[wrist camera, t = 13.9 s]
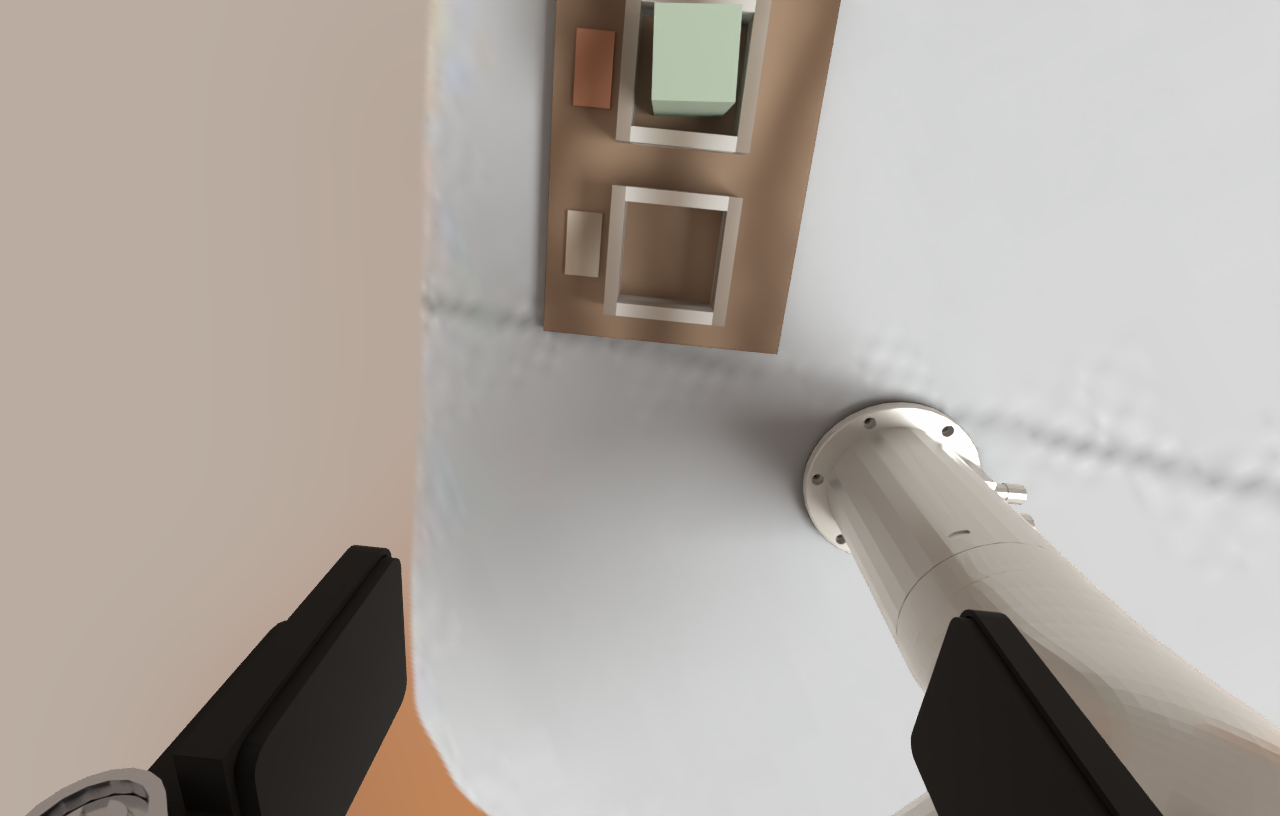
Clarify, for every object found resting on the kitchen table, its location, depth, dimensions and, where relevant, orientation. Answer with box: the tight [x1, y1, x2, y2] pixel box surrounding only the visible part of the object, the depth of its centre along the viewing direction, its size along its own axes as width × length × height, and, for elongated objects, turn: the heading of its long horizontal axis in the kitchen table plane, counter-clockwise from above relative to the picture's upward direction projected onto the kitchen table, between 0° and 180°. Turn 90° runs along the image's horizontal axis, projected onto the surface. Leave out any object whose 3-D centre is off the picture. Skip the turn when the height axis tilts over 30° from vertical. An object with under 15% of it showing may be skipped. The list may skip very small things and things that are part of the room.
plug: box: [652, 2, 743, 118], centre depth 32 cm, size 4×4×8 cm
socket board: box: [544, 0, 841, 354], centre depth 37 cm, size 16×22×4 cm
